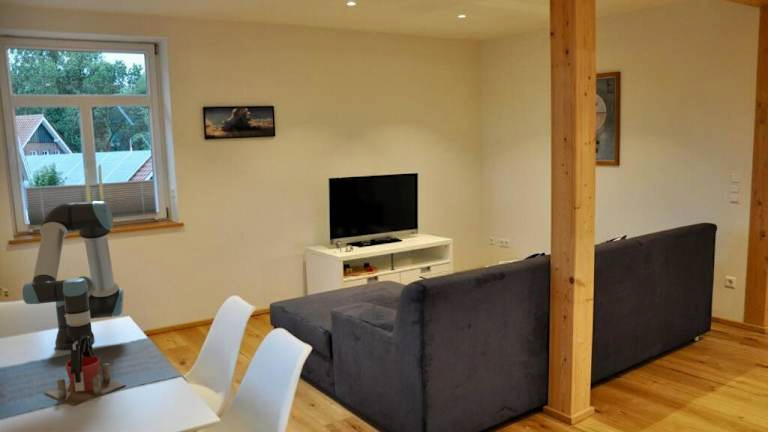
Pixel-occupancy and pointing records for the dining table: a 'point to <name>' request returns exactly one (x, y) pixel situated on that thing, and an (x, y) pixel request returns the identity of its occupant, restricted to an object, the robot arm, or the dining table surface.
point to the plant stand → (74, 398)
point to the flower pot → (85, 372)
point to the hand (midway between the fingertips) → (85, 384)
